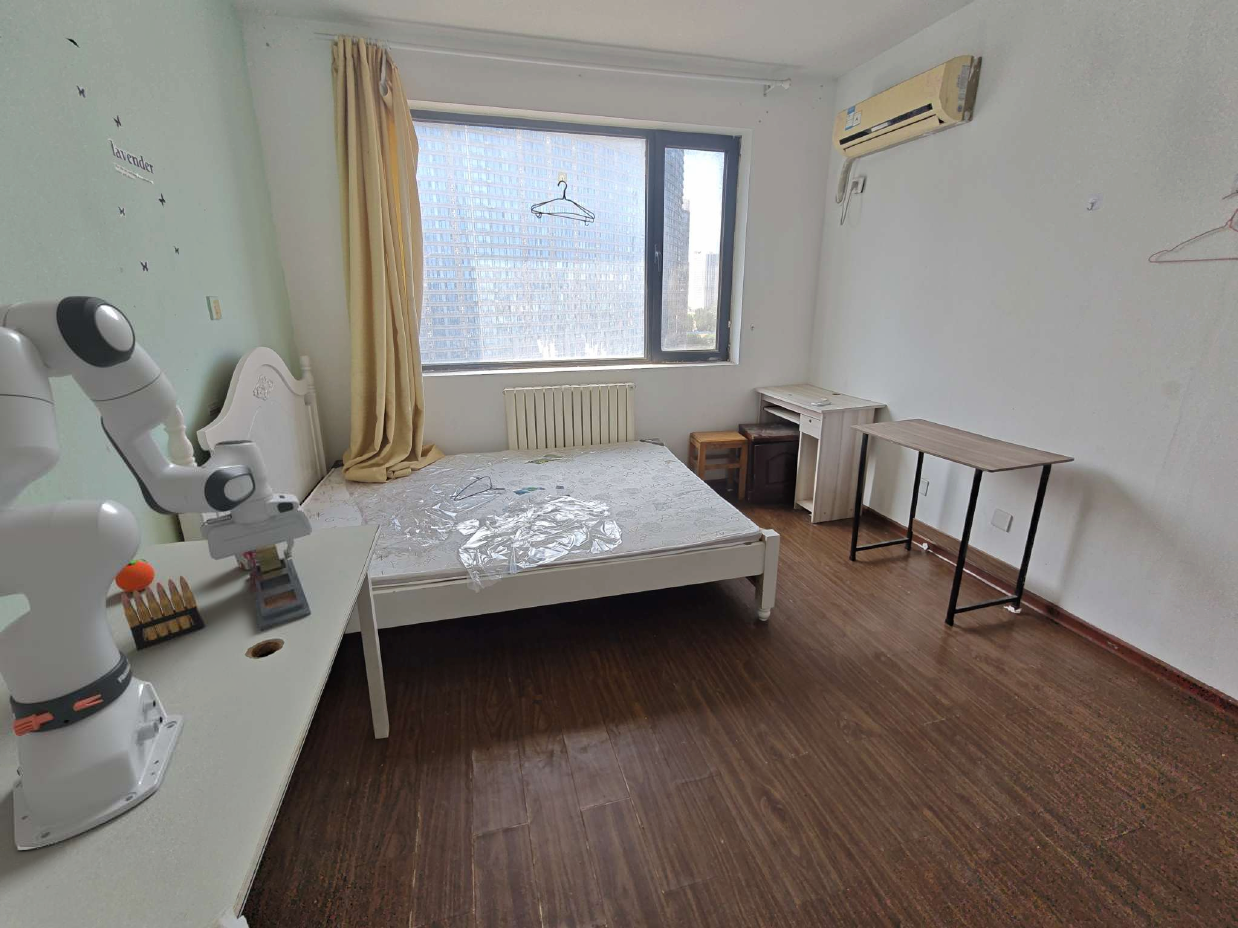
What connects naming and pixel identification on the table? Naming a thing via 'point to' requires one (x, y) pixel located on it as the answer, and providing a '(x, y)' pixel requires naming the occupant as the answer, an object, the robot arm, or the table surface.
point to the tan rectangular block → (268, 559)
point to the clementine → (135, 576)
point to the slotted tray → (278, 595)
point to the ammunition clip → (162, 615)
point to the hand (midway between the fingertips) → (269, 562)
